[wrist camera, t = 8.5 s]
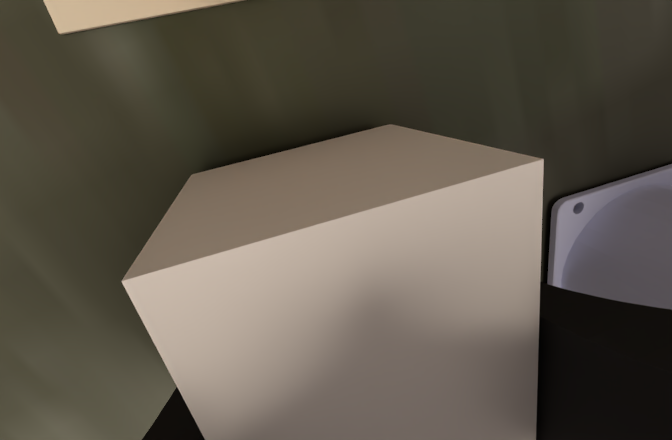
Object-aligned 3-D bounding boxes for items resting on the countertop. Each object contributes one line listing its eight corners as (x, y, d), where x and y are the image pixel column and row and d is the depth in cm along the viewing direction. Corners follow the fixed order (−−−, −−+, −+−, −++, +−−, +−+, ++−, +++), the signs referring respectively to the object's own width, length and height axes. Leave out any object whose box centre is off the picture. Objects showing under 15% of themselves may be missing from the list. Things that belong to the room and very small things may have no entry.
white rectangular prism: (191, 174, 10) (121, 281, 4) (390, 124, 11) (544, 158, 5) (281, 411, 13) (305, 630, 8) (423, 359, 14) (533, 525, 9)
